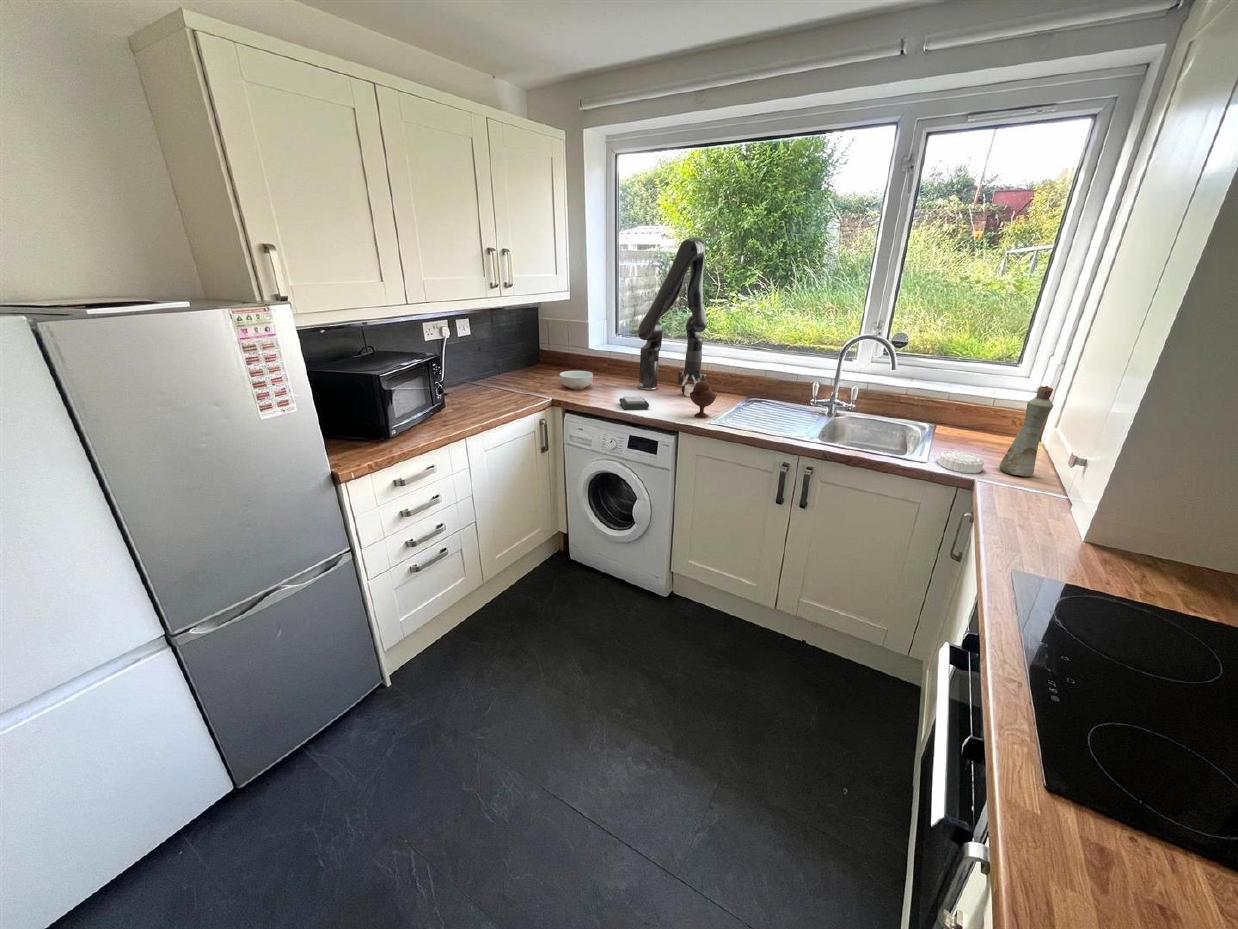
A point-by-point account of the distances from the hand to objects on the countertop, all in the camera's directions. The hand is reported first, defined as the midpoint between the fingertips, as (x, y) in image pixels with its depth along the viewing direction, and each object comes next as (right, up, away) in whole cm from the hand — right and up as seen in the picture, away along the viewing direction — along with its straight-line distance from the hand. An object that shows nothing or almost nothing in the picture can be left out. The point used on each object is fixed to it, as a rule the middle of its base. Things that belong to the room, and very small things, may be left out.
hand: (690, 394), depth 240 cm
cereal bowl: (-56, +4, +9) cm, 57 cm away
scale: (-28, -8, -22) cm, 37 cm away
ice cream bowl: (0, -14, -33) cm, 36 cm away
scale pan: (-28, -7, -23) cm, 37 cm away
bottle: (+91, -37, -83) cm, 128 cm away
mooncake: (+76, -35, -79) cm, 115 cm away
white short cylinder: (0, -1, 0) cm, 1 cm away
